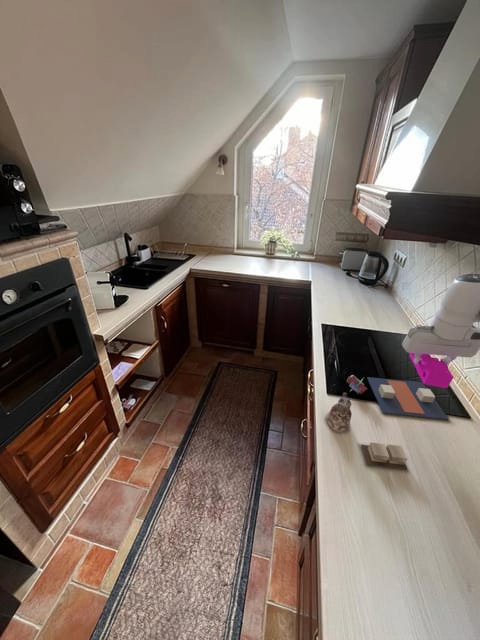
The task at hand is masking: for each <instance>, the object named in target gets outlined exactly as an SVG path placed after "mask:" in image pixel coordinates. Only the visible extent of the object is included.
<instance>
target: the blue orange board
mask: <svg viewBox="0 0 480 640" xmlns="http://www.w3.org/2000/svg"><path fill="white" fill-rule="evenodd" d="M366 380H367V382H368V384H369V387H370V389H371V391H372V394H373V395H374V398H375V401H376V402H377V404H378V406H379V409H380V412H381V413H382V414H383V415H391V416H392V415H393V416H400V417H401V416H403V417H411V418H419V419H420V418H422V419H431V420H437V421H439V420H441V421H449V420H450V418H449V417H448V416H447V414H446V412H445V411H444V409H442V407H441V406H440V404H439V403H438V401H437V400H436V396H435V394H434V393H433V392H432V390H431V389H430V388H427V386H426V384H424V383H423V381H414V380H413V381H412V380H402V379H393V378H392V379H391V378H381V377H380V378H379V377H372V376H371V377H370V376H368V377H366Z"/></svg>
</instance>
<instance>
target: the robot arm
mask: <svg viewBox="0 0 480 640" xmlns="http://www.w3.org/2000/svg"><path fill="white" fill-rule="evenodd" d="M440 302H441V303H440V307H439V309H438V310H436V312H435V314H434V315H433V318H432V320H431V322H430V324H429V325H420V324H419V325H415V326H412V327H411V328H410V329H408V330H409V331H408V332H407V334H406V336H405V337H404V339H403V340H402V343H401V346H402V348H403V350H404V351H405V352H406V353H408V354H410V353H414V355H415V358H414V362H415V363H416V364H421V362H422V361H423V360H422V359H421V357H420V356H422V354H430V356H431V355H433V356H444V358H440V361H442V362H445V363H446V365H447V366H449V364H450V363H451V362H453V361H454V360H456V359H457V358H469V359H470V358H473V357H476V355H477V354H478V352H479V351H480V328H479V327H478V326H476V325H475V323H480V274H479V273H466V274H465V273H464V274H461V275H459V276H457V277H455V279H454V280H452V282H451V283H450V285H449V286H448V288H447V290H446V291H445V293H444V295H443V297H442V299H441V301H440Z"/></svg>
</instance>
